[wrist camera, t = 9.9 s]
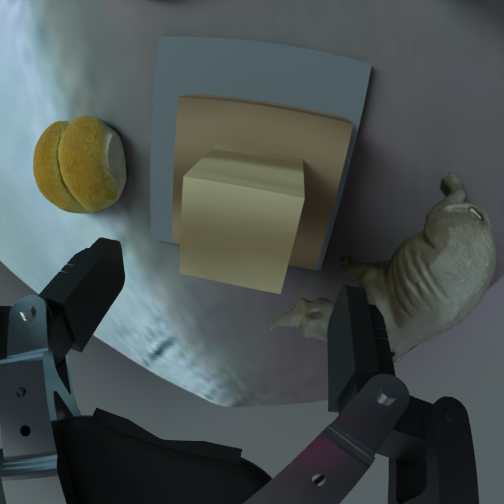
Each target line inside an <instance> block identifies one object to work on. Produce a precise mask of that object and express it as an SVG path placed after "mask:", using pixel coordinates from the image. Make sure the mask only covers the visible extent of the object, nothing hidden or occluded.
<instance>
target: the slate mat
mask: <svg viewBox="0 0 504 504" xmlns="http://www.w3.org/2000/svg"><path fill="white" fill-rule="evenodd" d="M371 67H372V64H370V63H367V62H363V61H359V60H356V59H352V58H348V57H344V56H340V55H335V54H331V53H326V52H322V51H317V50H312V49H307V48H301V47H296V46H290V45H283V44H276V43H269V42H261V41H253V40H243V39H231V38H216V37H187V36H169V37H158V45H157V54H156V64H155V75H154V87H153V101H152V118H151V143H150V227H151V239H154V240H159V241H164V242H170V243H172V211H173V175H174V153H175V135H176V121H177V108H178V97H180V96H184V95H188V94H192V93H200V94H211V95H221V96H231V97H239V98H247V99H254V100H261V101H267V102H274V103H280V104H286V105H291V106H297V107H302V108H307V109H312V110H317V111H321V112H326V113H330V114H335V115H339V116H343V117H346V118H347V119H348V120H349V121H350V122H352V123H353V128H352V133H351V137H350V141H349V146H348V150H347V154H346V158H345V162H344V166H343V171H342V175H341V179H340V182H339V186H338V190H337V194H336V198H335V202H334V205H333V209H332V213H331V217H330V220H329V224H328V227H327V231H326V235H325V238H324V242H323V245H322V249H321V252H320V255H319V259H318V262H317V266H316V269H315V270H318V271H320V270H321V266H322V263H323V260H324V257H325V253H326V250H327V247H328V243H329V240H330V236H331V233H332V230H333V226H334V223H335V219H336V215H337V212H338V208H339V205H340V201H341V197H342V194H343V190H344V186H345V182H346V178H347V174H348V171H349V167H350V163H351V159H352V154H353V150H354V146H355V142H356V138H357V133H358V129H359V125H360V120H361V116H362V111H363V106H364V102H365V97H366V92H367V87H368V82H369V77H370V72H371Z"/></svg>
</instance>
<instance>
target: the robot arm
mask: <svg viewBox="0 0 504 504" xmlns="http://www.w3.org/2000/svg"><path fill="white" fill-rule="evenodd" d="M124 281H125V271H124V264H123V256H122V248H121V244H120V242H119V241H116V240H111V239H106V238H99V239H98V240H97V241H96V242H95V243H94V244H93V245H92V246H91V247H90V248H86V249H84V250H82V251H80V252H79V253H77V254H75V255H74V256H73V257H72V258H71V259H70V261H69V262H68V263H67V265H65V266H64V267H63V268H62V269H61V272H59V273H58V274H57V275H56V276H55V277H54V278H53V279H52V280H51V281H50V283H49V284H48V285H47V286H46V287H45V288H44V289H43V291H42V292H41V293H40V294H39V295H38V296H26V297H23V298H21V299H19V300H18V301H17V302H16V303H15V304H14V305H13V306H0V429H1V439H2V449H0V504H340V503H341V502H342V500H343V499H344V498H345V497H346V496H347V495H348V493H349V492H350V491H351V490H352V489H353V488H354V486H355V485H356V484H357V483H358V481H359V480H360V479H361V477H363V475H364V474H365V473H366V471H367V470H368V469H369V467H370V466H371V465H372V463H373V462H374V459H375V457H374V455H375V454H376V453H377V454H380V455H383V456H386V457H389V486H388V504H479V496H478V483H477V471H476V463H475V455H474V448H473V441H472V434H471V428H470V423H469V417H468V413H467V411H466V409H465V407H464V406H463V404H462V403H461V402H460V401H458V400H457V399H455V398H453V397H442V398H440V399H438V400H437V401H436V402H435V403H434V404H431V403H429V402H426V401H423V400H420V399H417V398H415V397H413V396H410V395H409V391H408V389H407V387H406V385H405V384H404V383H403V382H402V381H401V380H400V379H399V378H397V377H396V375H395V370H394V364H393V359H392V354H391V349H390V344H389V340H388V334H387V331H386V325H385V321H384V316H383V315H382V313H381V312H380V311H379V309H378V308H377V306H376V305H371V304H368V300H367V295H366V291H365V289H364V288H359V287H353V286H348V285H343V286H342V288H341V290H340V293H339V295H338V298H337V301H336V303H335V306H334V308H333V311H332V313H331V316H330V319H329V323H328V329H327V343H328V411H329V412H339V416H338V417H337V418H336V419H335V420H334V421H333V422H332V423H331V424H330V425H328V426H327V427H326V428H325V429H324V430H323V431H322V432H321V433H320V434H319V435H318V436H317V438H316V439H314V440H313V441H312V443H310V444H309V445H308V446H307V447H306V448H305V450H303V451H302V452H301V453H300V454H299V455H298V456H297V457H296V458H295V459H294V460H293V461H292V462H291V463H290V464H289V465H287V466H286V467H285V468H284V469H283V470H282V471H281V472H280V473H279V474H277V476H275V477H274V478H273V479H272V478H271V476H269V475H268V474H267V473H266V472H265V471H264V470H262V469H261V468H260V467H258V466H257V465H255V464H254V463H251V462H250V461H248V460H246V459H244V458H241V452H242V449H239V448H234V447H229V446H224V445H219V444H214V443H210V442H205V441H177V440H163V439H160V438H158V437H156V436H155V435H153V434H151V433H149V432H148V431H146V430H145V429H143V428H141V427H140V426H138V425H136V424H135V423H133V422H132V421H130V420H128V419H126V418H123V417H120V416H117V415H114V414H112V413H109V412H107V411H104V410H101V409H98V408H96V410H95V412H94V414H93V416H90V415H88V416H86V415H81V413H80V410H79V408H78V405H77V402H76V399H75V394H74V388H73V383H72V377H71V372H70V365H69V359H68V356H67V353H68V351H69V350H70V349H73V350H76V351H78V352H82V351H83V349H84V347H85V346H86V344H87V343H88V341H89V339H90V338H91V336H92V335H93V333H94V331H95V330H96V328H97V327H98V325H99V324H100V322H101V320H102V319H103V317H104V316H105V314H106V313H107V311H108V310H109V308H110V307H111V305H112V304H113V302H114V301H115V299H116V298H117V296H118V295H119V293H120V292H121V290H122V288H123V285H124Z"/></svg>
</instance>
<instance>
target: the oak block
mask: <svg viewBox="0 0 504 504" xmlns="http://www.w3.org/2000/svg"><path fill="white" fill-rule="evenodd" d="M304 199H305V195H304V172H303V159H300V158H295V157H290V156H285V155H280V154H275V153H270V152H264V151H259V150H253V149H247V148H241V147H235V146H229V145H223V144H216V145H215V146H214V147H213V148H212V149H211V150H210V151H209V152H208V153H207V154H206V155H205V156H204V157H203V158H202V159H201V160H200V161H199V162H198V163H197V164H195V165H194V166H193V167H192V168H191V169H190V170H189V171H188V172H187V173H186V174H185V175H184V176H183V191H182V210H181V234H180V273H181V274H185V275H190V276H194V277H199V278H204V279H208V280H213V281H218V282H223V283H227V284H232V285H237V286H242V287H247V288H252V289H257V290H262V291H267V292H272V293H277V294H281V290H282V286H283V283H284V279H285V275H286V271H287V267H288V263H289V260H290V256H291V252H292V248H293V244H294V240H295V236H296V232H297V228H298V224H299V220H300V216H301V212H302V208H303V203H304Z"/></svg>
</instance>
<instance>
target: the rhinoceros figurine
mask: <svg viewBox="0 0 504 504" xmlns="http://www.w3.org/2000/svg"><path fill="white" fill-rule="evenodd" d="M440 190H442V191H443V193H445V196H446V195H448V196H447V197H446V198H445V199H443V200H442V201H440V202H439V203H438V204H436V205H435V206H434V207H433V208H432V209H431V210H430V212H429V213H428V215H427V217H426V223H425V226H424V230H423V231H422V232H420V233H417V234H415V235H412V236H411V237H410V238H409V239H407V240H405V241H404V242H403V243H402V244H401V245H400V246H399V247H398V248H397V249H396V251H395V253H394V255H393V256H392V258H391V260H389V261H385V262H379V263H371V264H351V260H350V257H349V256H348V255H346V254H345V252H343V254H342V255H343V256H341V259H340V263H339V264H340V266H342V272H343V275H344V276H346V278H348V279H350V280H354V281H355V280H358V281H359V282H360V285H359V288H364V289H365V291H366V295H367V300H368V304H371V305H376V306H377V308H378V309H379V311H380V312H381V313H382V315H383V316H384V321H385V325H386V331H387V334H388V340H389V344H390V349H391V354H392V359H393V363H396V362H399V361H400V360H401V359H400V358H401V357H402V356H403V355H404V354H405V353H406V352H408V350H409V349H410V348H412V347H413V346H415V345H418V344H420V343H422V342H424V341H426V340H428V339H430V338H431V337H434V336H436V335H439V334H441V333H442V332H444V331H446V330H448V329H450V328H452V326H454V325H456V324H459V323H460V322H461V321H462V320H463V319H464V318H465V317H467V316H468V315H469V314H470V313H471V310H472V309H473V308H474V307H476V306H477V305H478V303H479V302H480V300H481V299H482V298H483V296H484V295H485V292H486V291H487V289H488V287H489V285H490V283H491V280H492V277H493V275H494V272H495V266H496V243H495V238H494V233H493V229H492V223H491V221H490V218H489V216H488V215H487V213H486V211H485V210H484V209H482V208H481V207H480V206H476V205H473V204H472V203H466V202H464V200H465V197H466V193H465V191H464V189H463V185H462V183H461V181H460V179H459V178H458V176H456V175H454V174H453V173H451V172H448V173H446V174H445V175H444V177H443V178H442V179H441V182H440ZM334 306H335V304H334V303H332V302H330V301H329V300H328V299H325V298H318V299H316V300H314V301H312V302H311V301H308V300H306V299H304V298H299V300H298V302H297V304H296V305H295V307H294V308H293V309H292V310H291V311H290V312H288V313H285V314H283V315H282V316H280V317H279V318H278V319H277V320H276V321H275V322H274V323H273V324H272V325H271V327H270V330H271V331H272V330H274V329H276V328H277V327H280V326H290V327H297V328H299V329H300V331H301V332H302V334H303V335H304V337H306V338H315V339H318V340H321V341H324V342H326V343H327V329H328V323H329V319H330V316H331V313H332V311H333V308H334Z"/></svg>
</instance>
